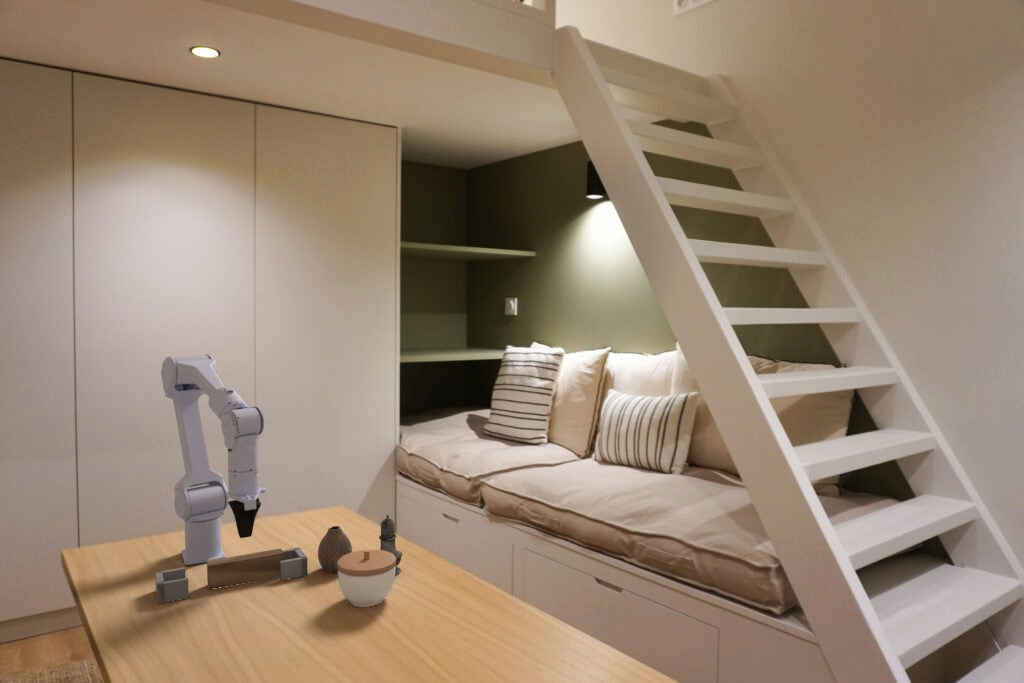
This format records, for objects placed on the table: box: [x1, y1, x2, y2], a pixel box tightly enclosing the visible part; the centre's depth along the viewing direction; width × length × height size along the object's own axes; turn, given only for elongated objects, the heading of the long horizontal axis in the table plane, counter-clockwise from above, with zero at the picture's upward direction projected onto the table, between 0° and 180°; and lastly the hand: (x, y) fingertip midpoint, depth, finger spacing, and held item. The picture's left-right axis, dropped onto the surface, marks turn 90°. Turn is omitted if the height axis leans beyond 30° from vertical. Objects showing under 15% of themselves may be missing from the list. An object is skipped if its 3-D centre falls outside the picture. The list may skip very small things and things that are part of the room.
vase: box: [317, 525, 353, 574], centre depth 144 cm, size 7×7×9 cm
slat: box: [206, 548, 284, 590], centre depth 139 cm, size 3×14×5 cm, turn 120°
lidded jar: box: [337, 549, 396, 608], centre depth 129 cm, size 11×11×9 cm
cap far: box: [279, 546, 309, 581], centre depth 143 cm, size 7×5×4 cm
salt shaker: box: [378, 514, 403, 576], centre depth 143 cm, size 6×6×12 cm
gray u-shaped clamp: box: [154, 566, 190, 605], centre depth 132 cm, size 7×5×4 cm
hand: (245, 536), depth 138 cm, fingers closed
